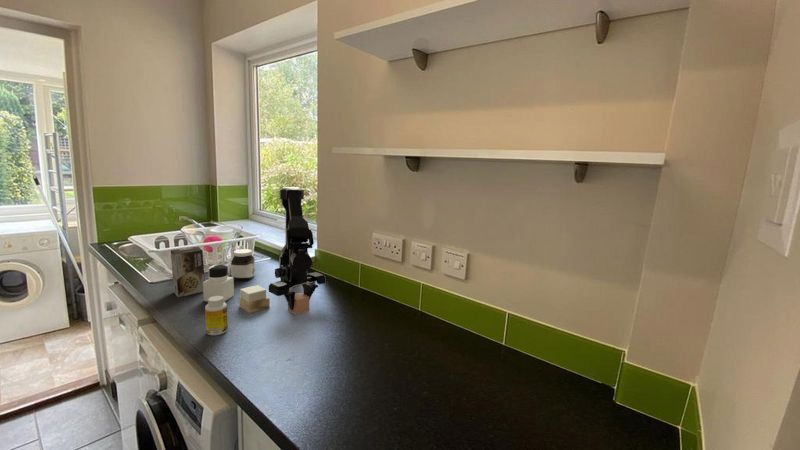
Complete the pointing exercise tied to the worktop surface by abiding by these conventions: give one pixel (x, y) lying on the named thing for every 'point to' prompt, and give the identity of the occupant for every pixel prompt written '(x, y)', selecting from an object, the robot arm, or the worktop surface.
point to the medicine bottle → (218, 283)
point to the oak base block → (254, 304)
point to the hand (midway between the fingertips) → (298, 307)
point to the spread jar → (242, 265)
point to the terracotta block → (300, 304)
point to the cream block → (253, 293)
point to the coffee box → (187, 271)
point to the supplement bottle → (216, 316)
